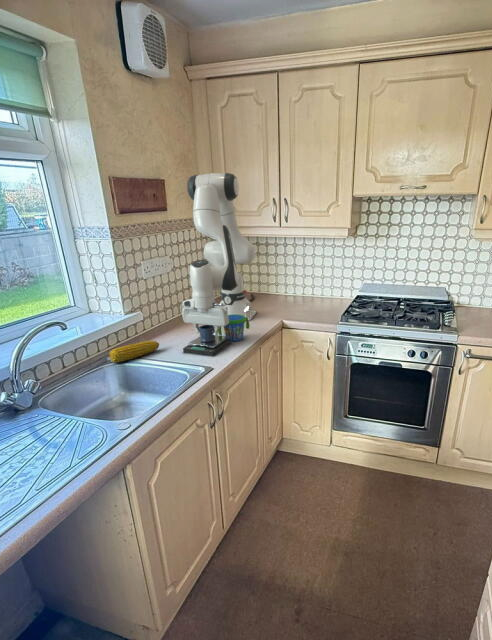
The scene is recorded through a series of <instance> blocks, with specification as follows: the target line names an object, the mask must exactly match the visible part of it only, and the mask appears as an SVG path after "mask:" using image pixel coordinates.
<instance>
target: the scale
mask: <svg viewBox="0 0 492 640" xmlns="http://www.w3.org/2000/svg"><path fill="white" fill-rule="evenodd" d="M231 344H232V341H231V339H226V340H224V341H223V342H222V343H220V344H219V345H217V346H216V347H214V348H207V347H198V346H190V345H188V344H187V345H186V346H184V347H182V350H183V353H184V354H191V355H199V356H200V355H201V356H208V357H214V356H216V355H217V354H219V353H220V352H221V351H222V350H224V349H225V348H227V347H228V346H230V345H231Z"/></svg>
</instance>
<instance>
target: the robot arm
mask: <svg viewBox="0 0 492 640" xmlns="http://www.w3.org/2000/svg"><path fill="white" fill-rule="evenodd" d="M186 183H187V185H186V188H187V189H186V190H187V194H188V196H189V199H191V200H192V201H193V206H192V207H193V209H192V213H193V215H192V217H193V225H194V227H195V228H196V230H197V231H198V232H199V233H200V234H202V235H203V236H206V237H208V238H210V239H213V241H209V242H208V241H207V242H206V243H205V245H204V249H203V256H204V258H205V259H197V260H194V261H192V262H191V263H190V266H189V278H190V279H189V280H190V286H191V289H192V290H191V291H192V293H191V297H189V298H187V299H184V300H183V301H182V302H181V304H182V309H181V310H182V311H181V312H182V313H181V315H182V320H183V322H184V323H185V324H192V325H193V327H194V329H195V331H196V334H197V335H200V332H199V327H200V326H199V325H202V326H203V325H213V326H214V329H215V330H214V331H213V335H215V336H219V333H218V330H219V327H220V326H221V327H224V326H226V325H228V323H229V317H228V315H233V314H237V315H243V316H245V317H246V318H247V319H248V321H252V319H253V318H254V317H255V316H256V314H257V310H255V309H253V307H252V301H253V300H254V294H253V293H251V294H250V296H251V298H250V299H249V300H248V298H246V295H247V294H248V291H247V289H244V282H243V281H244V280H243V276H242V274H241V273H240V272H238V270H237V265H245V264H251V263H252V262H253V261H254V260H255V257H256V248H255V246H254V245H253V243H252V242H251V241H250V240H248V239H247V238H246V237H245V236H244V235H243V234H242V232H241V230H240V229H239V226H238V221H237V216H236V209H235V203H234V200H236V198H237V197H238V195H239V191H240V186H239V182H238V178H237V176H235V174H234V173H229V172H226V173H223V172H211V173H204V174H194V175H191V176H190V177H189V178H188V180H187V182H186ZM214 291H221V292H220V299H221V300H220V302H216V299H215V292H214ZM245 321H246V319H245Z"/></svg>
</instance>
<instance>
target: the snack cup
mask: <svg viewBox="0 0 492 640" xmlns="http://www.w3.org/2000/svg"><path fill="white" fill-rule="evenodd" d="M228 317H229V323H228V325H226V326H223V330H224V336H226V337H228V338H227V339H231V342H238V341H240V340H243V338H244V331H245V328H246V329H247V330H249V329H250V326H251V325H250V320H248V319H247V318H246V317H245V316H243V315H237V314H233V315H228ZM245 319H246V320H245ZM218 336H223V332H222V326H220V327H219V330H218Z"/></svg>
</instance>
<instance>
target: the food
mask: <svg viewBox="0 0 492 640" xmlns="http://www.w3.org/2000/svg"><path fill="white" fill-rule="evenodd" d="M159 347H160V342H158V341H156V340H146V341H141V342H135V343H130V344H127V345H123V346H118V347H116V348H113V349H111V350H110V351H109V353H108V356H109V359H110V362H112V363H115V364H116V363H122V362H126V361H130V360H132V359H136V358H139V357H142V356H144V355H149V354H150V353H153V352H155V351H156V350H157V349H159Z"/></svg>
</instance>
